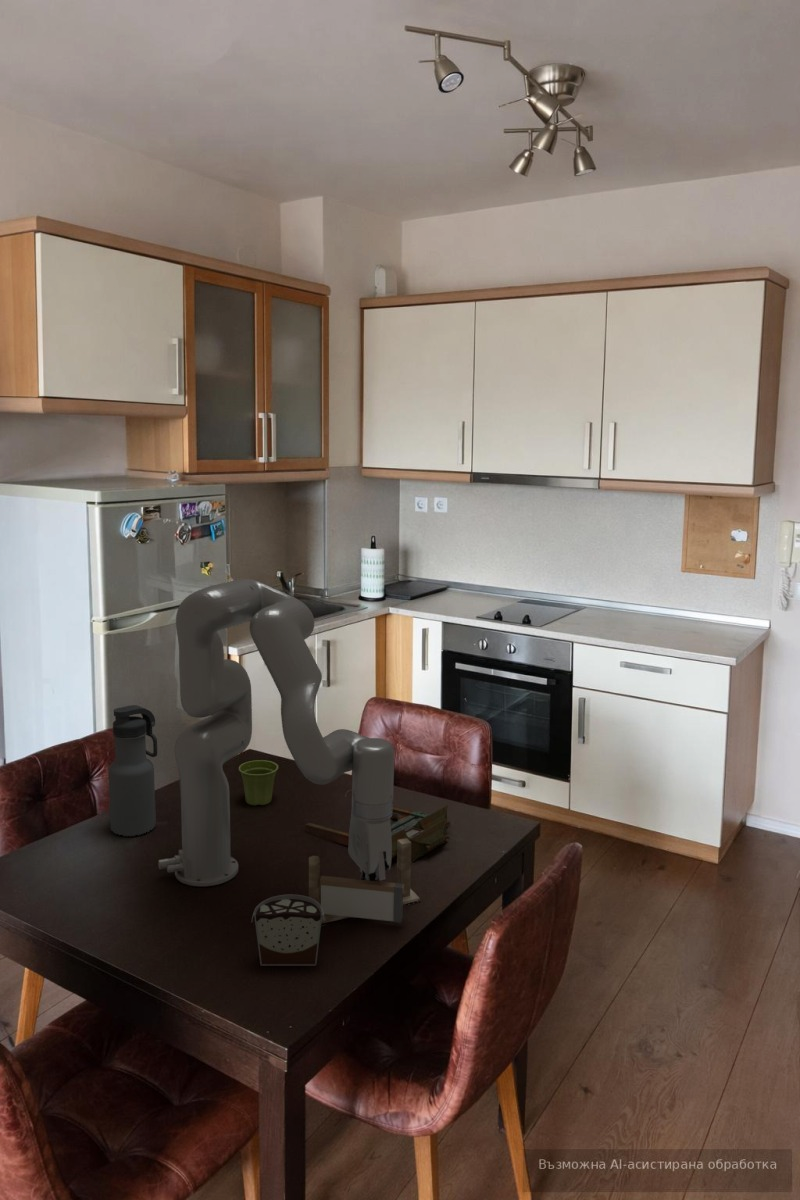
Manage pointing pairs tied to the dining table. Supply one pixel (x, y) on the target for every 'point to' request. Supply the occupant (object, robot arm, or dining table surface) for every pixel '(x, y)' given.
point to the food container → (288, 930)
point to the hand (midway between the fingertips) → (369, 898)
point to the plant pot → (258, 781)
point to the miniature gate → (401, 831)
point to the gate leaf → (362, 898)
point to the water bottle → (132, 773)
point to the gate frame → (402, 877)
